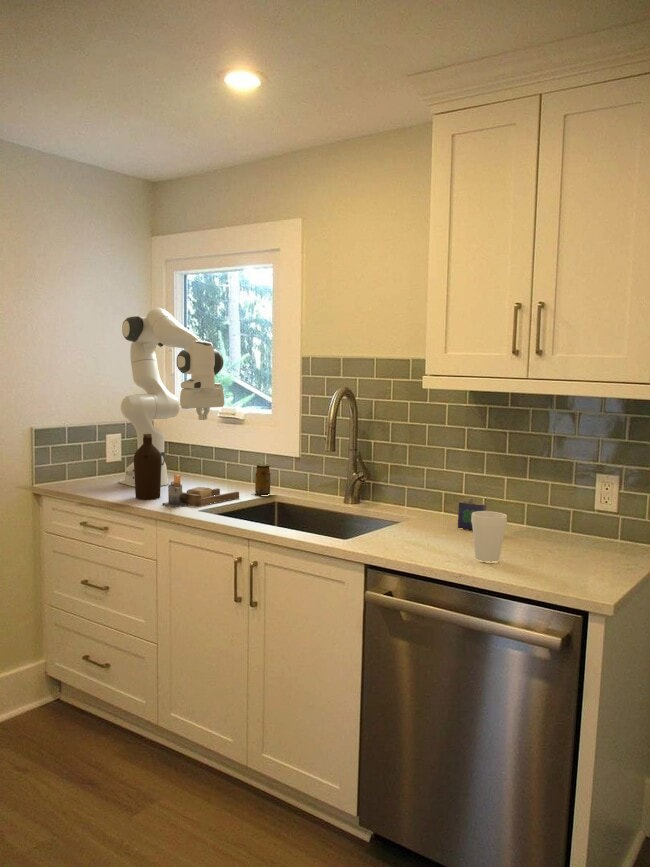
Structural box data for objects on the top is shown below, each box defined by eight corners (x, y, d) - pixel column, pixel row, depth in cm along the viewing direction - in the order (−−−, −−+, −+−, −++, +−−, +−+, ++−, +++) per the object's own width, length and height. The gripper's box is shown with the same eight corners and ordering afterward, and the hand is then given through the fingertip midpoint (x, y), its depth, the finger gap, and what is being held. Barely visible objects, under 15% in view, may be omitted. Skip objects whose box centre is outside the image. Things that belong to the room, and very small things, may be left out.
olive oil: (166, 498, 282) (166, 434, 279) (140, 501, 276) (139, 435, 273) (155, 494, 290) (154, 432, 288) (129, 496, 284) (129, 433, 282)
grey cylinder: (162, 505, 269) (162, 485, 268) (176, 502, 274) (176, 483, 274) (175, 507, 265) (175, 487, 264) (188, 505, 270) (188, 485, 269)
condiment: (265, 492, 299) (265, 463, 298) (277, 495, 293) (277, 466, 292) (250, 494, 295) (250, 464, 294) (262, 497, 288) (262, 467, 287)
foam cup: (464, 561, 199) (466, 515, 198) (477, 554, 207) (479, 509, 206) (497, 567, 194) (500, 519, 193) (509, 560, 202) (511, 514, 200)
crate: (186, 503, 274) (186, 489, 273) (198, 500, 281) (198, 486, 280) (200, 505, 271) (200, 491, 271) (211, 501, 279) (211, 487, 278)
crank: (170, 484, 270) (170, 471, 269) (179, 483, 271) (179, 470, 270) (173, 489, 259) (172, 475, 258) (182, 489, 259) (182, 475, 259)
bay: (175, 502, 275) (175, 491, 274) (217, 494, 292) (217, 484, 292) (197, 506, 268) (197, 495, 267) (239, 498, 285) (239, 488, 285)
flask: (486, 530, 237) (487, 498, 236) (483, 532, 234) (484, 499, 233) (459, 527, 241) (460, 495, 240) (455, 528, 239) (456, 496, 238)
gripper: (216, 382, 286) (216, 417, 288) (177, 383, 270) (177, 420, 271) (228, 383, 283) (228, 418, 284) (189, 384, 266) (189, 421, 268)
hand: (202, 419), depth 278 cm, fingers closed
